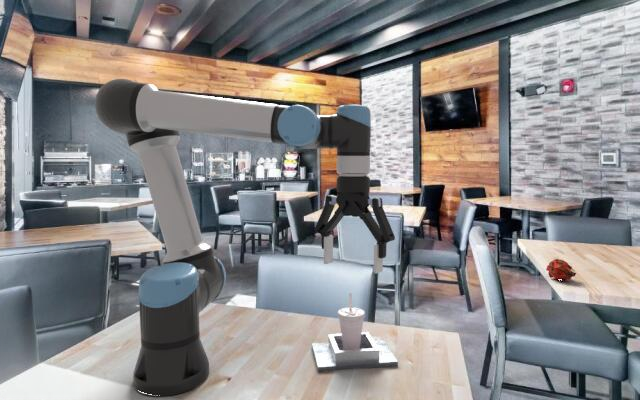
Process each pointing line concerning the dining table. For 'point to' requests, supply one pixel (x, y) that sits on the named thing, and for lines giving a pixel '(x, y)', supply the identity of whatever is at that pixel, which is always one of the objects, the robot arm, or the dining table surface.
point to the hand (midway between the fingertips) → (352, 267)
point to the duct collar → (352, 354)
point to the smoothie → (351, 325)
